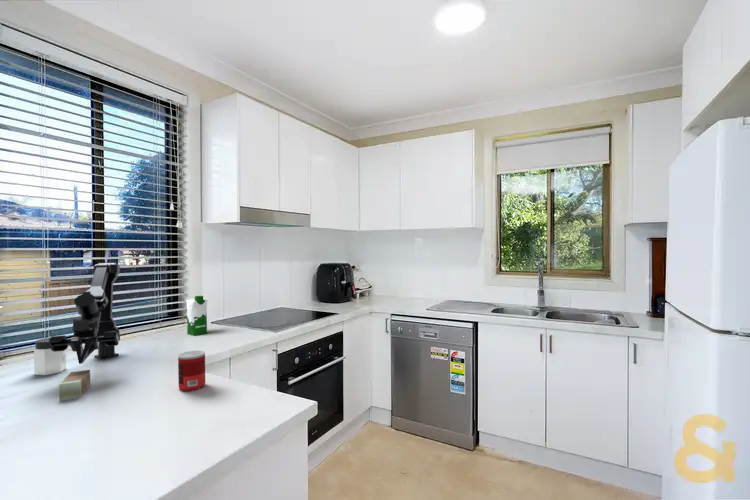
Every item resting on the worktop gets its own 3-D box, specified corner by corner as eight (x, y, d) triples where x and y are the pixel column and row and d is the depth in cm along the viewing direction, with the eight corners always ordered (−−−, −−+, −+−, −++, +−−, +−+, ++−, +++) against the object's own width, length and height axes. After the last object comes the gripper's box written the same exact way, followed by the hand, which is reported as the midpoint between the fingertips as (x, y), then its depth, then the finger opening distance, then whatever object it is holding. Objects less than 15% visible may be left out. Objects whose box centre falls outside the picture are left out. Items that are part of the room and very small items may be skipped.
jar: (58, 374, 135) (58, 341, 134) (30, 377, 132) (30, 343, 132) (69, 366, 143) (69, 335, 143) (43, 369, 140) (42, 337, 140)
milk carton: (193, 336, 190) (193, 297, 190) (184, 334, 195) (184, 296, 195) (209, 333, 197) (209, 295, 197) (200, 330, 202) (200, 294, 202)
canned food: (210, 384, 124) (210, 351, 124) (191, 393, 117) (191, 358, 117) (192, 381, 127) (192, 349, 127) (173, 390, 119) (172, 356, 119)
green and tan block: (71, 371, 122) (59, 384, 112) (90, 369, 125) (79, 381, 114) (71, 387, 123) (59, 400, 112) (90, 384, 125) (80, 397, 114)
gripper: (49, 312, 124) (36, 354, 114) (116, 308, 132) (110, 346, 122) (58, 331, 131) (46, 371, 121) (121, 326, 139) (115, 363, 129)
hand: (80, 363), depth 123 cm, fingers closed
